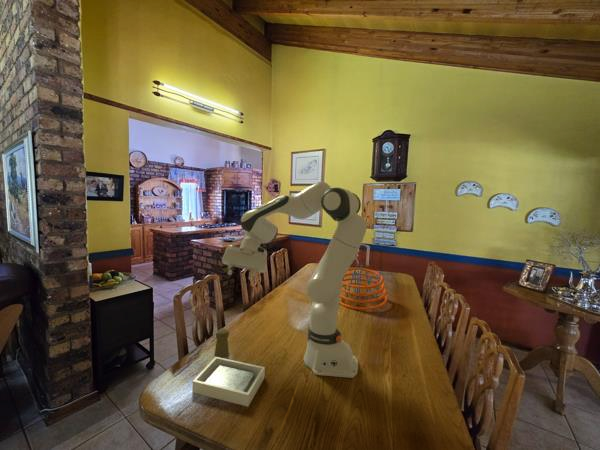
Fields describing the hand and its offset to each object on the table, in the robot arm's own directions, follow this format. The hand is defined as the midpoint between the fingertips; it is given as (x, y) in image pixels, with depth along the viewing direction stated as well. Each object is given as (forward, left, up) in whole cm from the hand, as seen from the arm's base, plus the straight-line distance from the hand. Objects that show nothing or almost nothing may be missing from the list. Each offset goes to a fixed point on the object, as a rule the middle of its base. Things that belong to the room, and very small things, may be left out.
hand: (239, 276), depth 114 cm
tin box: (-10, +25, -30) cm, 41 cm away
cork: (+2, +10, -31) cm, 33 cm away
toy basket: (-54, -74, -32) cm, 97 cm away
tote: (-10, +25, -31) cm, 41 cm away
